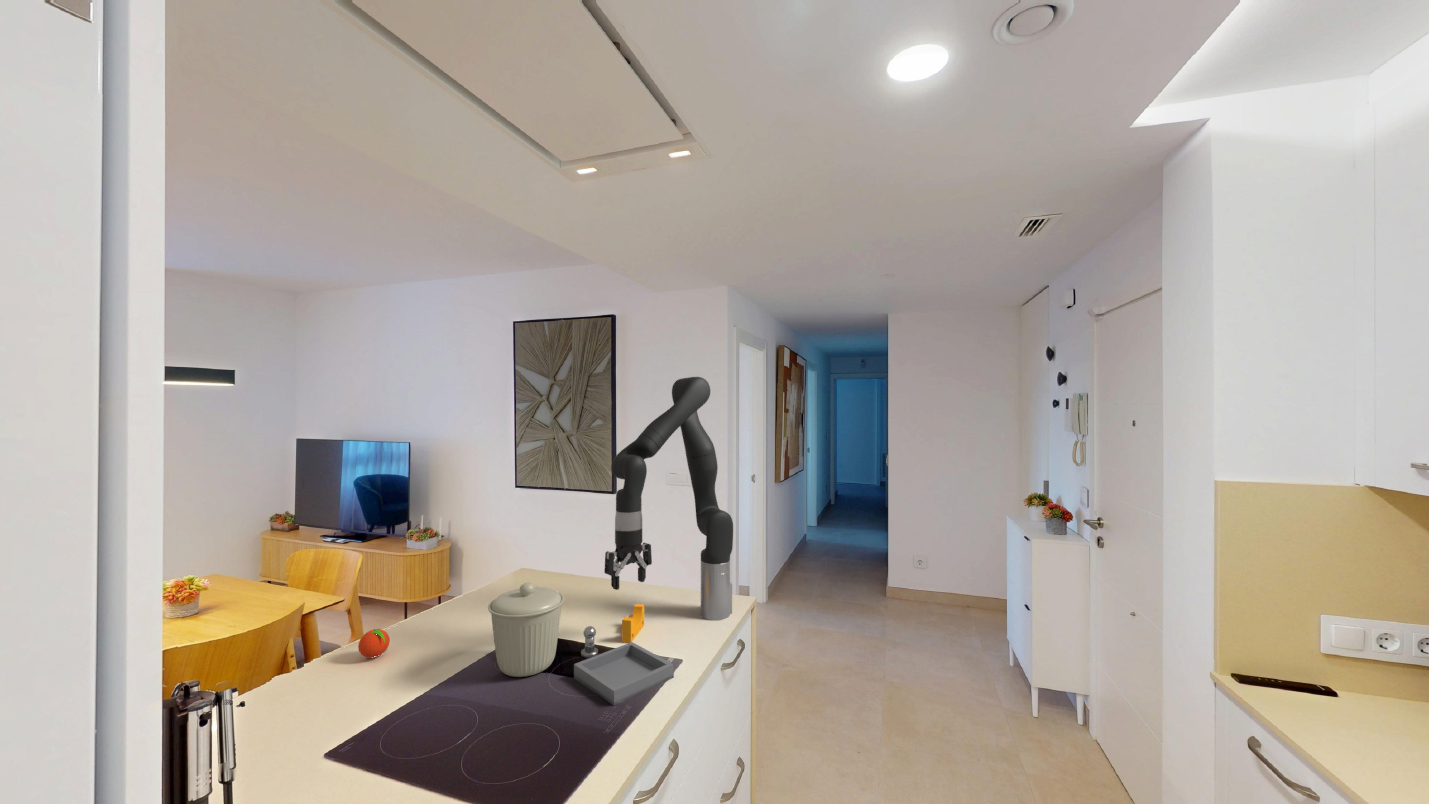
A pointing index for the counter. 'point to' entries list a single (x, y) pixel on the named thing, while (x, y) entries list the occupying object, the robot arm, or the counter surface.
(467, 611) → the counter surface
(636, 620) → the pipe clamp
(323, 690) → the counter surface
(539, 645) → the canister
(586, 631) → the door knob
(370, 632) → the clementine
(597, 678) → the parts bin
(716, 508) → the robot arm
